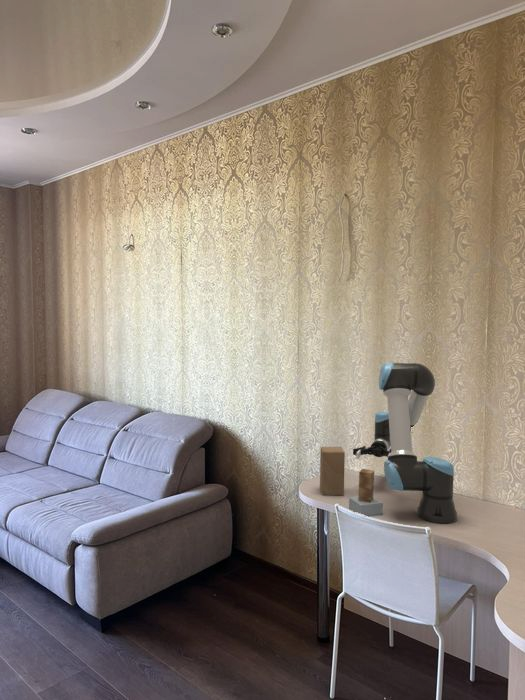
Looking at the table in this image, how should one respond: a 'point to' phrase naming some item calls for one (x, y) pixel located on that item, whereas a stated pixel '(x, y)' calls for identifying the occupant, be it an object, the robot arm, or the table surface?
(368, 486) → the walnut block
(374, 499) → the grey base block
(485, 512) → the table surface
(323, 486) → the wooden block
